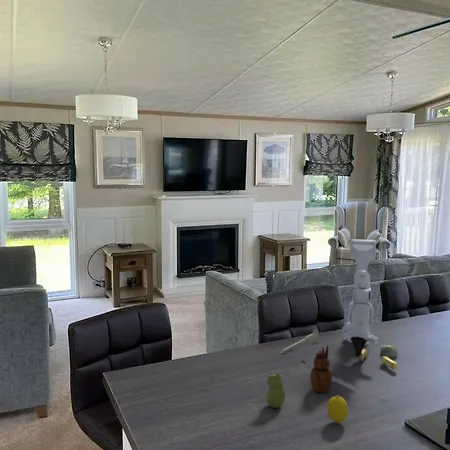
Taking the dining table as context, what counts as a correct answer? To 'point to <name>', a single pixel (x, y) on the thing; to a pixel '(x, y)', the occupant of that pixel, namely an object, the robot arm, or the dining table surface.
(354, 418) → the dining table surface
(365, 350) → the knob
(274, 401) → the pear
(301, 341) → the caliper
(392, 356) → the base
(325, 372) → the wooden figurine
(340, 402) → the lemon
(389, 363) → the knob
